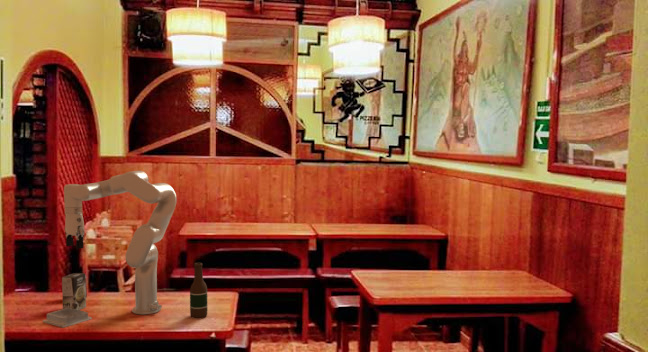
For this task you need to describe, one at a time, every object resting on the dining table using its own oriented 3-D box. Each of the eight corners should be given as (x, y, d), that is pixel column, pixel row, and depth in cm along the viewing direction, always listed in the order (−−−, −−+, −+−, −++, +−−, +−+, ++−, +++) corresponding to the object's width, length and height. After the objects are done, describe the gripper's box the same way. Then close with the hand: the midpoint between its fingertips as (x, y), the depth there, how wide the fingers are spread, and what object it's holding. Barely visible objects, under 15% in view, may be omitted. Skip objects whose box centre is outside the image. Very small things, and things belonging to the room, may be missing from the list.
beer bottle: (211, 314, 262) (210, 262, 261) (202, 319, 255) (201, 265, 253) (196, 312, 265) (195, 260, 263) (186, 317, 258) (185, 264, 256)
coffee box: (74, 312, 265) (73, 277, 263) (62, 311, 266) (61, 277, 265) (86, 306, 273) (85, 273, 272) (74, 306, 275) (73, 272, 274)
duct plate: (91, 318, 255) (91, 311, 255) (63, 327, 244) (62, 320, 243) (71, 313, 263) (71, 306, 263) (42, 322, 251) (42, 314, 251)
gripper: (90, 211, 267) (91, 248, 269) (72, 208, 279) (73, 243, 280) (74, 213, 262) (75, 250, 263) (57, 210, 273) (58, 246, 274)
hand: (74, 247), depth 271 cm, fingers open, 9 cm apart
